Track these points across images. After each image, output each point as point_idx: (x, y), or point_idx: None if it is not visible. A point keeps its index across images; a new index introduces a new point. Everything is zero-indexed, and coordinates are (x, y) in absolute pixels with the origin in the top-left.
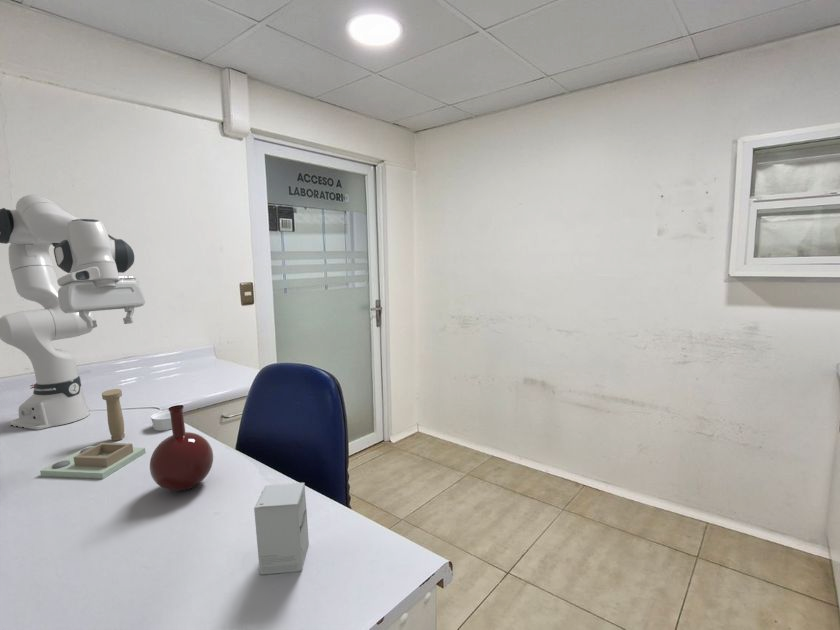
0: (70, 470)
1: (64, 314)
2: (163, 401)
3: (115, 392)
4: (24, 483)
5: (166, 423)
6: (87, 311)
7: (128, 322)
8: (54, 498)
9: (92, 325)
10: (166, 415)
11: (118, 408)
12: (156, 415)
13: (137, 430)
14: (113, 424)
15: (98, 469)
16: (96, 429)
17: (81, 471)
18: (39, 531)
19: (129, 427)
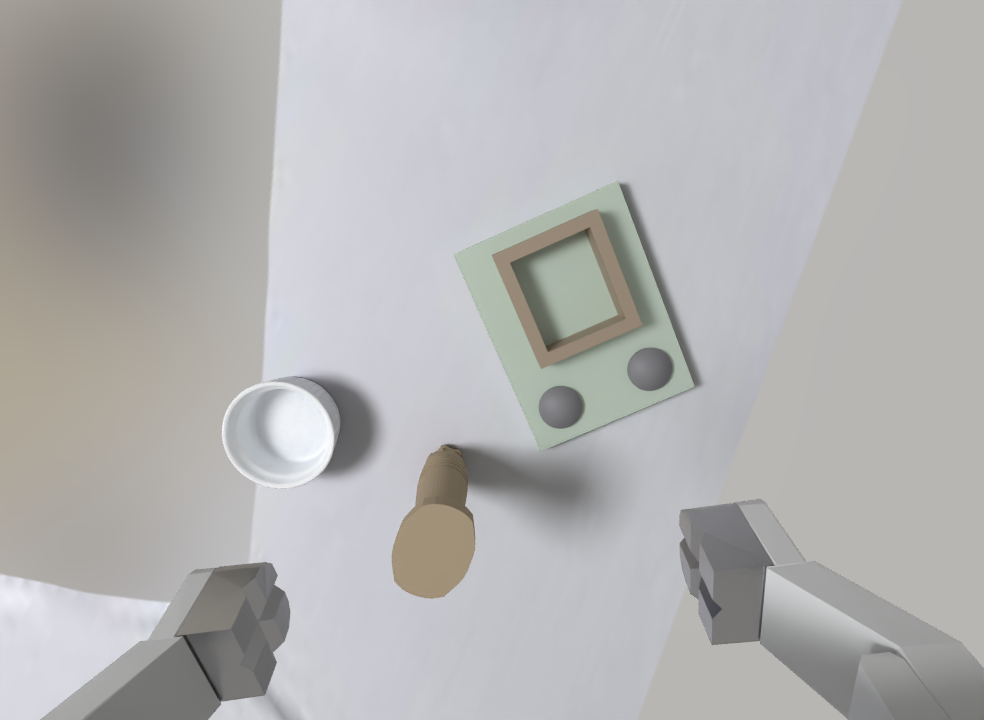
0: (653, 299)
1: None
2: None
3: (427, 529)
4: (728, 372)
5: (309, 387)
6: (928, 708)
7: (255, 563)
8: (734, 186)
9: (750, 507)
10: (269, 466)
11: (431, 491)
12: (301, 475)
13: (375, 480)
14: (459, 469)
15: (610, 223)
16: (445, 615)
17: (641, 259)
18: (833, 16)
19: (377, 534)
